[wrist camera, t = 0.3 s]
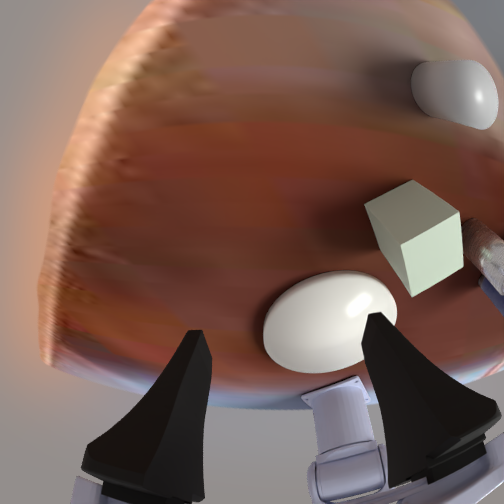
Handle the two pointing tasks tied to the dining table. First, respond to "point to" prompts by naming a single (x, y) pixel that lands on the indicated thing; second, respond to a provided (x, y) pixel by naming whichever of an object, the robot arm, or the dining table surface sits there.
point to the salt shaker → (484, 251)
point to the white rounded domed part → (456, 92)
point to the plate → (324, 320)
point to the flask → (492, 293)
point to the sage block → (417, 235)
